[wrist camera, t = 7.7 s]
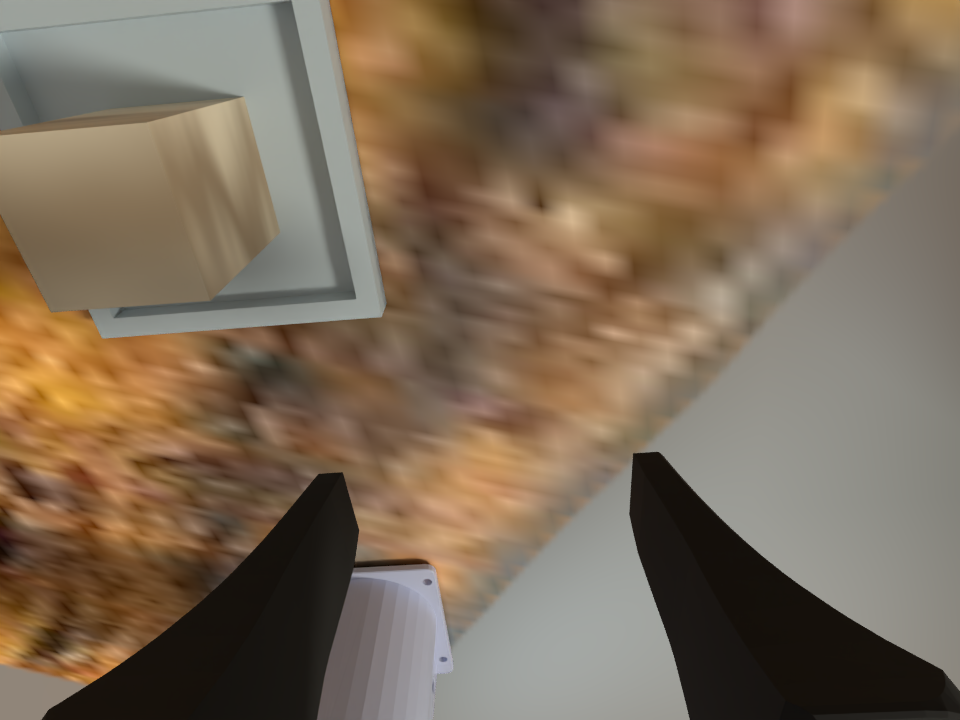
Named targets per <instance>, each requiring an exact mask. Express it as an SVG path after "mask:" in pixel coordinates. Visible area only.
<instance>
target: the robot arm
mask: <svg viewBox="0 0 960 720" xmlns="http://www.w3.org/2000/svg"><path fill="white" fill-rule="evenodd" d="M629 514H630V519H631V523H632V528H633V533H634V537H635V541H636V546H637V550H638V554H639V557H640V560H641V563H642V565H643V568H644V571H645V574H646V577H647V580H648V583H649V585H650V588H651V591H652V594H653V597H654V600H655V602H656V605H657V608H658V611H659V614H660V616H661V619H662V622H663V624H664V628H665V630H666V633H667V636H668V639H669V642H670V645H671V648H672V652H673V655H674V658H675V662H676V666H677V670H678V674H679V677H680V682H681V685H682V689H683V693H684V697H685V701H686V705H687V710H688V714H689V718H690V720H960V691H959V690H958V689H957V687H956V686H955V685H954V684H953V682H952V681H951V680H950V679H949V678H948V676H947V675H946V674H945V673H944V671H943V670H941V669H940V668H938V667H936V666H934V665H932V664H930V663H928V662H926V661H925V660H923V659H921V658H919V657H917V656H915V655H913V654H911V653H910V652H908V651H906V650H904V649H902V648H900V647H898V646H896V645H894V644H893V643H891V642H889V641H887V640H885V639H883V638H882V637H880V636H878V635H876V634H875V633H873V632H872V631H870V630H868V629H867V628H865V627H863V626H861V625H860V624H858V623H856V622H855V621H853V620H851V619H850V618H848V617H847V616H845V615H843V614H842V613H840V612H839V611H837V610H836V609H834V608H833V607H831V606H830V605H828V604H826V603H825V602H824V601H822V600H821V599H819V598H818V597H816V596H815V595H813V594H812V593H811V592H809V591H808V590H806V589H805V588H803V587H802V586H800V585H799V584H797V583H796V582H795V581H793V580H792V579H791V578H789V577H788V576H787V575H785V574H784V573H782V572H781V571H780V570H779V569H778V568H776V567H775V566H774V565H773V564H771V563H770V562H769V561H768V560H766V559H765V558H764V557H763V556H761V555H760V554H759V553H758V552H757V551H756V550H754V549H753V548H752V547H751V546H750V545H749V544H748V543H746V542H745V541H744V540H743V539H742V538H741V537H740V536H739V535H738V534H736V533H735V532H734V531H733V530H732V529H731V528H730V527H729V526H728V525H727V524H726V523H725V522H724V521H723V520H722V519H720V517H719V516H717V514H716V513H715V512H714V511H713V510H712V509H711V508H710V507H709V506H708V505H707V504H706V503H705V502H704V501H703V500H702V499H701V498H700V497H699V496H698V495H697V494H696V493H695V492H694V491H693V489H691V487H690V486H689V485H688V484H687V483H686V482H685V481H684V480H683V478H682V477H681V476H680V475H679V474H678V473H677V472H676V470H675V469H674V468H673V467H672V466H671V465H670V463H669V462H668V461H667V460H666V459H665V457H664V456H663V455H661V453H659V452H649V453H633V465H632V482H631V498H630V513H629ZM358 534H359V528H358V525H357V521H356V518H355V514H354V511H353V507H352V504H351V500H350V497H349V493H348V490H347V486H346V482H345V479H344V475H343V472H341V473H326V474H318V476H317V477H316V478H315V479H314V480H313V481H312V482H311V484H310V485H309V486H308V487H307V488H306V490H305V491H304V492H303V493H302V495H301V496H300V497H299V498H298V499H297V501H296V502H295V503H294V504H293V506H292V507H291V508H290V509H289V510H288V512H287V513H286V514H285V515H284V516H283V518H282V519H281V520H280V521H279V522H278V523H277V525H276V526H275V527H274V528H273V529H272V530H271V532H270V533H269V534H268V535H267V536H266V537H265V538H264V540H263V541H262V542H261V543H260V544H259V545H258V546H257V547H256V548H255V549H254V550H253V551H252V553H251V554H250V555H249V556H248V557H247V558H246V559H245V560H244V561H243V562H242V563H241V564H240V565H239V566H238V567H237V568H236V569H235V570H234V571H233V572H232V573H231V574H230V575H229V576H228V577H227V578H226V579H225V580H224V581H223V582H222V583H221V584H220V585H219V586H218V587H217V588H216V589H215V590H213V591H212V592H211V593H210V594H209V595H208V596H207V597H206V598H205V599H204V600H202V601H201V602H200V603H199V604H198V605H197V606H196V607H194V608H193V609H192V610H191V611H189V612H188V613H187V614H186V615H184V616H183V617H182V618H181V619H180V620H178V621H177V622H176V623H175V624H173V625H172V626H171V627H170V628H168V629H167V630H166V631H165V632H163V633H162V634H161V635H160V636H158V637H157V638H156V639H154V640H153V641H152V642H150V643H149V644H148V645H146V646H145V647H144V648H142V649H141V650H140V651H138V652H137V653H135V654H134V655H133V656H131V657H130V658H128V659H127V660H125V661H124V662H123V663H121V664H120V665H118V666H117V667H115V668H114V669H112V670H111V671H109V672H108V673H106V674H105V675H103V676H102V677H100V678H99V679H97V680H96V681H94V682H92V683H91V684H89V685H88V686H86V687H84V688H83V689H81V690H80V691H78V692H76V693H75V694H73V695H72V696H70V697H69V698H67V699H65V700H64V701H62V702H61V703H59V704H57V705H56V706H54V707H52V708H51V709H49V710H48V711H47V713H46V714H45V716H44V717H43V719H42V720H433V718H434V717H433V716H434V705H435V691H436V678H437V674H445V673H450V672H452V670H453V665H454V663H453V657H452V652H451V647H450V642H449V637H448V631H447V626H446V621H445V616H444V610H443V605H442V600H441V595H440V589H439V584H438V579H437V574H436V569H435V568H434V567H433V566H432V565H429V564H417V565H398V566H380V567H361V568H354V562H355V556H356V549H357V542H358Z"/></svg>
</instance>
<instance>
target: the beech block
mask: <svg viewBox="0 0 960 720" xmlns="http://www.w3.org/2000/svg"><path fill="white" fill-rule="evenodd" d="M0 215H1V217H2V219H3V221H4V223H5V224H6V226H7V228H8V230H9V232H10V234H11V236H12V238H13V240H14V242H15V244H16V246H17V248H18V250H19V251H20V253H21V255H22V257H23V259H24V261H25V263H26V265H27V267H28V269H29V271H30V273H31V275H32V277H33V278H34V280H35V282H36V284H37V286H38V288H39V290H40V292H41V294H42V296H43V298H44V300H45V302H46V303H47V305H48V307H49V309H50V311H51V312H62V311H76V310H90V309H104V308H117V307H131V306H145V305H159V304H173V303H186V302H200V301H211V300H212V299H213V298H214V297H215V296H216V295H217V294H218V293H219V292H220V291H221V290H222V289H223V288H224V287H225V286H226V285H227V284H228V283H229V282H230V281H231V280H232V279H233V278H234V277H235V276H236V275H237V274H238V273H239V272H240V271H241V270H242V269H243V268H245V267H246V266H247V265H248V264H249V263H250V262H251V261H252V260H253V259H254V258H255V257H256V256H257V255H258V254H259V253H260V252H261V251H262V250H263V249H264V248H265V247H266V246H267V245H268V244H269V243H270V242H271V241H272V240H273V239H274V238H275V237H276V236H277V235H278V234H279V233H280V229H279V225H278V222H277V218H276V214H275V211H274V207H273V203H272V199H271V196H270V192H269V188H268V184H267V181H266V177H265V173H264V169H263V166H262V162H261V158H260V154H259V151H258V147H257V143H256V139H255V136H254V132H253V128H252V125H251V121H250V117H249V113H248V110H247V106H246V102H245V98H244V97H236V98H225V99H214V100H202V101H191V102H180V103H169V104H158V105H147V106H136V107H124V108H113V109H106V110H101V111H96V112H91V113H87V114H82V115H77V116H72V117H67V118H62V119H57V120H52V121H47V122H42V123H37V124H32V125H27V126H22V127H17V128H12V129H7V130H2V131H0Z"/></svg>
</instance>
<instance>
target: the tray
mask: <svg viewBox="0 0 960 720" xmlns="http://www.w3.org/2000/svg"><path fill="white" fill-rule="evenodd" d="M236 97H244V98H245V102H246V106H247V110H248V113H249V117H250V121H251V125H252V128H253V132H254V136H255V139H256V143H257V147H258V151H259V154H260V158H261V162H262V166H263V169H264V173H265V177H266V181H267V184H268V188H269V192H270V196H271V199H272V203H273V207H274V211H275V214H276V218H277V222H278V225H279V229H280V233H279V234H278V235H277V236H276V237H275V238H274V239H273V240H272V241H271V242H270V243H269V244H268V245H267V246H266V247H265V248H264V249H263V250H262V251H261V252H260V253H259V254H258V255H257V256H256V257H255V258H254V259H253V260H252V261H251V262H250V263H249V264H248V265H247V266H246V267H245V268H243V269H242V270H241V271H240V272H239V273H238V274H237V275H236V276H235V277H234V278H233V279H232V280H231V281H230V282H229V283H228V284H227V285H226V286H225V287H224V288H223V289H222V290H221V291H220V292H219V293H218V294H217V295H216V296H215V297H214V298H213V299H212V300H211V301H200V302H186V303H173V304H159V305H145V306H131V307H117V308H104V309H90V310H89V312H90V314H91V316H92V318H93V320H94V322H95V325H96V327H97V329H98V331H99V333H100V335H101V337H102V338H115V337H128V336H141V335H154V334H167V333H180V332H193V331H206V330H219V329H232V328H245V327H258V326H271V325H284V324H297V323H310V322H323V321H336V320H349V319H362V318H375V317H382V315H383V312H384V309H385V306H386V299H385V293H384V288H383V283H382V277H381V272H380V267H379V262H378V256H377V251H376V246H375V240H374V235H373V230H372V225H371V219H370V214H369V209H368V203H367V198H366V193H365V188H364V182H363V177H362V172H361V166H360V161H359V156H358V151H357V145H356V140H355V135H354V129H353V124H352V119H351V114H350V108H349V103H348V98H347V93H346V87H345V82H344V77H343V71H342V66H341V61H340V56H339V50H338V45H337V40H336V34H335V29H334V24H333V19H332V13H331V8H330V3H329V0H0V130H1V131H2V130H7V129H12V128H17V127H22V126H27V125H32V124H37V123H42V122H47V121H52V120H57V119H62V118H67V117H72V116H77V115H82V114H87V113H91V112H96V111H101V110H106V109H113V108H124V107H136V106H147V105H158V104H169V103H180V102H191V101H202V100H214V99H225V98H236Z"/></svg>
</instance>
